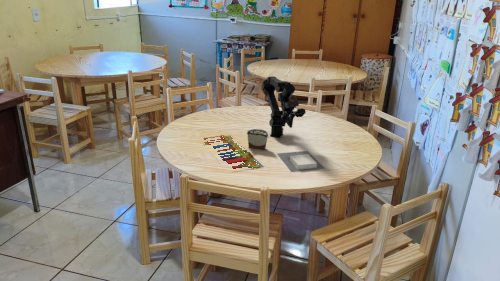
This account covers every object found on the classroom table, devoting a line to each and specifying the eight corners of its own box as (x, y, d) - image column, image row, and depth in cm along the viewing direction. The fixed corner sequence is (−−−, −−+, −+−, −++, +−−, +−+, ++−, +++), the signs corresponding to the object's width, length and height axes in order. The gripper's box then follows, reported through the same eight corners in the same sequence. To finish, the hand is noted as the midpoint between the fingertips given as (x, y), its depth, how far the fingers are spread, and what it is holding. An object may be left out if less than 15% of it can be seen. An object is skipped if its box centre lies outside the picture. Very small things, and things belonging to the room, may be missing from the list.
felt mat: (276, 154, 194) (276, 153, 194) (307, 151, 199) (307, 150, 199) (291, 172, 175) (291, 172, 174) (325, 169, 179) (325, 168, 179)
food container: (270, 147, 202) (271, 130, 198) (267, 151, 197) (268, 134, 193) (249, 143, 206) (250, 127, 202) (246, 147, 200) (246, 131, 197)
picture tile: (290, 155, 186) (298, 165, 176) (308, 154, 188) (317, 163, 178) (289, 160, 187) (297, 169, 177) (307, 158, 189) (316, 167, 179)
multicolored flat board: (264, 163, 179) (227, 170, 171) (264, 168, 180) (227, 174, 172) (230, 132, 216) (199, 136, 209) (230, 136, 217) (200, 140, 210)
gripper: (273, 95, 191) (279, 122, 185) (306, 94, 195) (312, 120, 190) (268, 105, 201) (273, 131, 195) (299, 103, 205) (305, 128, 200)
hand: (291, 127), depth 195 cm, fingers closed
